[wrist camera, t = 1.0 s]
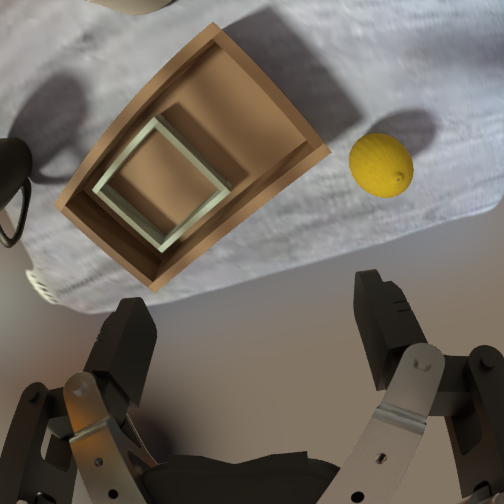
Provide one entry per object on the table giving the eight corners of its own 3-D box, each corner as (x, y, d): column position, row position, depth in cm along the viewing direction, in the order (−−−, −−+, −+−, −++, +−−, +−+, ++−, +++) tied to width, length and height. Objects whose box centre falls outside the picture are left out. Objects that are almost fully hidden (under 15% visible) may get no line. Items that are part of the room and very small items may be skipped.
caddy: (219, 30, 22) (213, 21, 18) (319, 139, 28) (331, 152, 24) (76, 186, 30) (53, 205, 26) (164, 265, 36) (154, 293, 32)
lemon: (368, 114, 26) (404, 131, 20) (399, 155, 29) (438, 182, 22) (328, 151, 29) (352, 178, 22) (362, 188, 31) (391, 224, 24)
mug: (31, 225, 32) (-10, 268, 24) (-13, 152, 27) (-63, 181, 19) (68, 195, 31) (23, 238, 23) (20, 113, 25) (-37, 136, 17)
